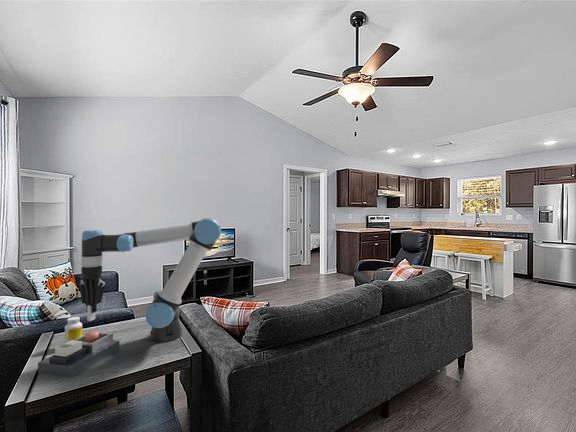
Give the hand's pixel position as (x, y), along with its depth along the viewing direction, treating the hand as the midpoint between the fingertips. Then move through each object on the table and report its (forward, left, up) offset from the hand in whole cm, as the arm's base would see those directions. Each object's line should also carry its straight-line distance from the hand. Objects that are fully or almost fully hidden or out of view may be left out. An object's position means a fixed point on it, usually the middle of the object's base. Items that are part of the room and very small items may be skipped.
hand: (91, 319), depth 126 cm
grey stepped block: (0, +5, -15) cm, 16 cm away
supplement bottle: (+16, -6, -16) cm, 23 cm away
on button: (0, +11, -9) cm, 14 cm away
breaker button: (0, 0, -9) cm, 9 cm away
